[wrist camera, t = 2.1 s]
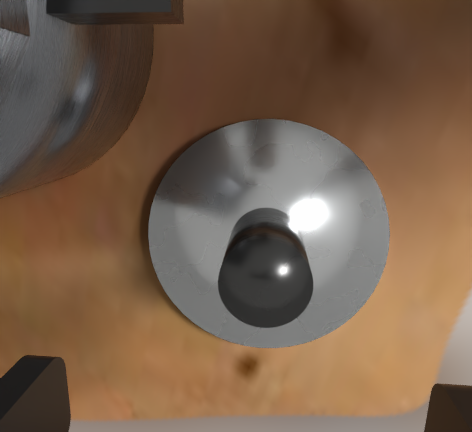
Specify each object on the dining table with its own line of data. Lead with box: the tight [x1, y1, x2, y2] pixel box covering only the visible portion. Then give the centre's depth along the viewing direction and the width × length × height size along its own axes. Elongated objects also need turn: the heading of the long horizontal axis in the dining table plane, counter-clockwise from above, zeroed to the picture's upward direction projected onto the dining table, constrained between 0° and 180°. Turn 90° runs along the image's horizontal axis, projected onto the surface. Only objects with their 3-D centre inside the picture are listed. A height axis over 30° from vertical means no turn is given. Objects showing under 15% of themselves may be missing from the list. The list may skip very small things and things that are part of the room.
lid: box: [148, 119, 390, 348], centre depth 18 cm, size 12×12×6 cm
